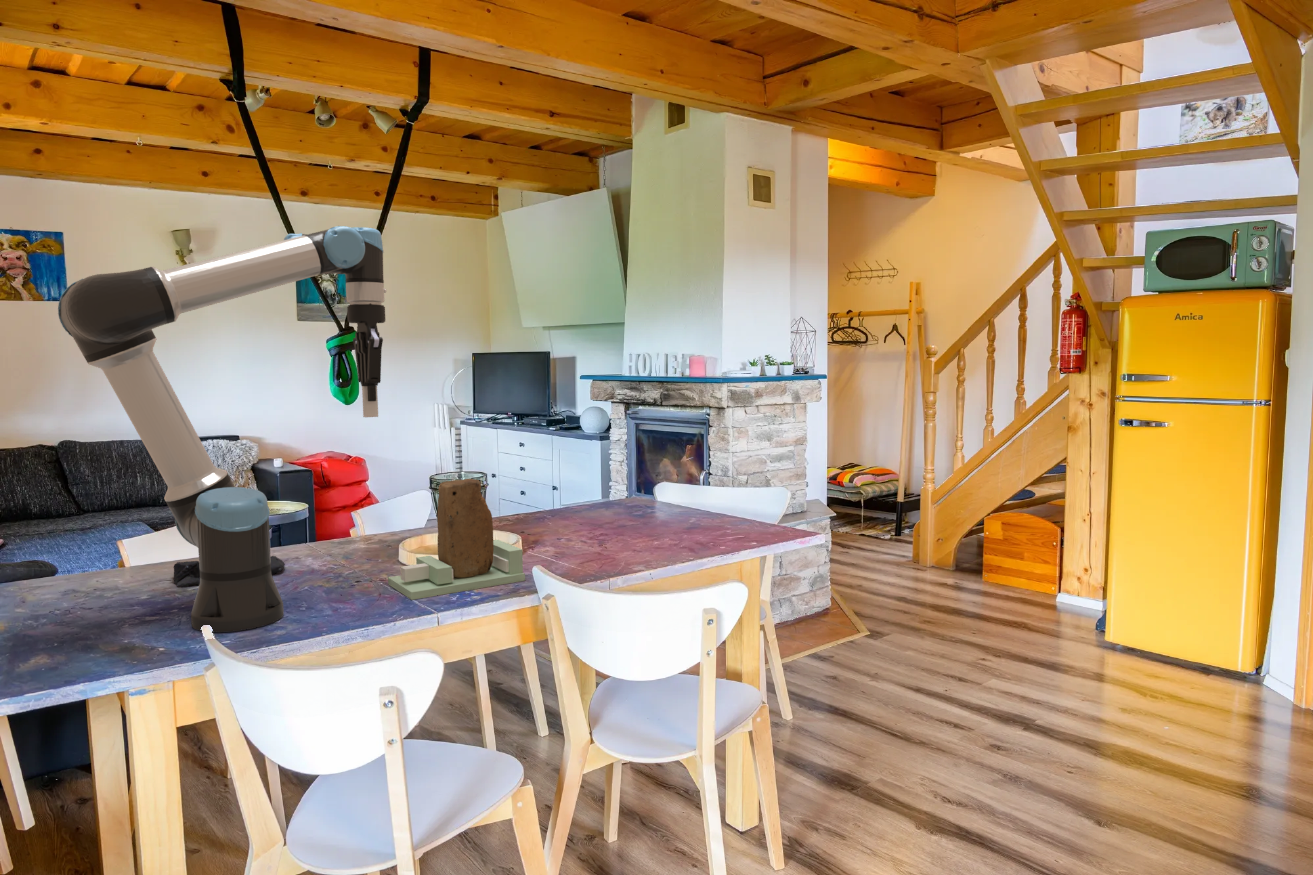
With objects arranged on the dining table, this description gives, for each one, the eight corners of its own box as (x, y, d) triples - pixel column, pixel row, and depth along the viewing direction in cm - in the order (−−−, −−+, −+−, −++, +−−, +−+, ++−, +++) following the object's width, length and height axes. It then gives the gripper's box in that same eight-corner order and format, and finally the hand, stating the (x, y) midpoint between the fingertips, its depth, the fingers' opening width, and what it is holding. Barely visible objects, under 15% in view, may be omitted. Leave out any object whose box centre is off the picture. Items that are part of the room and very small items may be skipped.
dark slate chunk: (286, 579, 190) (285, 557, 190) (170, 590, 181) (169, 568, 180) (284, 563, 204) (283, 543, 204) (176, 574, 195) (174, 552, 194)
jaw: (413, 588, 173) (412, 572, 173) (393, 575, 183) (392, 560, 183) (454, 581, 178) (454, 566, 178) (432, 569, 188) (432, 555, 187)
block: (446, 581, 180) (443, 484, 178) (436, 573, 187) (433, 479, 184) (497, 574, 185) (495, 480, 183) (485, 566, 192) (483, 475, 190)
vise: (411, 599, 172) (410, 567, 171) (388, 584, 183) (387, 553, 183) (525, 580, 186) (524, 550, 185) (496, 567, 197) (496, 538, 197)
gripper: (393, 303, 181) (398, 417, 183) (374, 305, 191) (379, 414, 194) (356, 302, 176) (361, 419, 179) (339, 305, 187) (344, 415, 189)
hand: (370, 416), depth 186 cm, fingers closed
